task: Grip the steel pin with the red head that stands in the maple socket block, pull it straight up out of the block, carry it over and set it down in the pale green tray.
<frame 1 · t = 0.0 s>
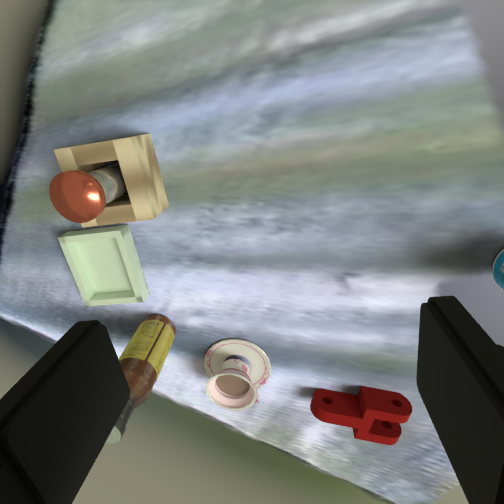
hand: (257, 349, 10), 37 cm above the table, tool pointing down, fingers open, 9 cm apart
sauce bottle: (161, 327, 57), on the table
tray: (110, 263, 52), on the table
socket block: (126, 176, 46), on the table
teacup: (237, 363, 59), on the table
mechanical linkage: (354, 398, 59), on the table
pin: (104, 185, 41), in the socket block
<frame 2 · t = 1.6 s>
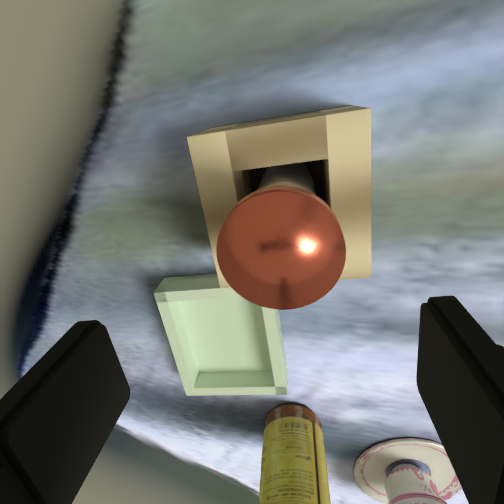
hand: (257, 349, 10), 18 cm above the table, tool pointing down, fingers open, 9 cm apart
sauce bottle: (294, 419, 36), on the table
tray: (229, 327, 32), on the table
socket block: (287, 186, 25), on the table
teacup: (406, 469, 38), on the table
pin: (284, 211, 20), in the socket block
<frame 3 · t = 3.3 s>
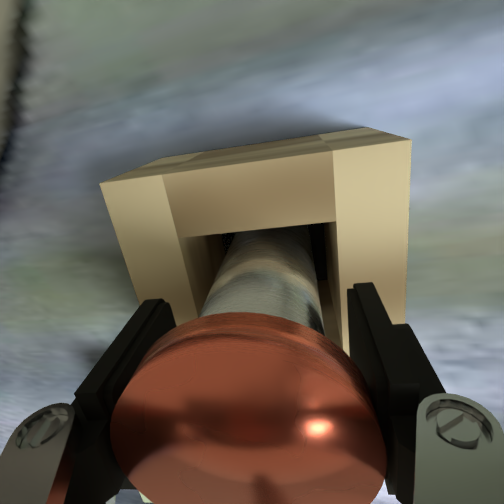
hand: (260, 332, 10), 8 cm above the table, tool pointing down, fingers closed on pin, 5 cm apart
socket block: (272, 239, 18), on the table
pin: (264, 300, 12), in the socket block, touching gripper
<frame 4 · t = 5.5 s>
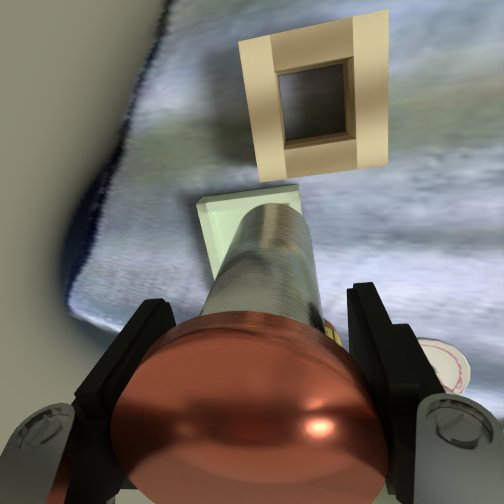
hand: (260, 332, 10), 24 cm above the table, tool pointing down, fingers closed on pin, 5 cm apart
tray: (258, 244, 36), on the table
socket block: (312, 104, 30), on the table
teacup: (415, 373, 41), on the table
pin: (265, 299, 12), point 22 cm above the table, touching gripper
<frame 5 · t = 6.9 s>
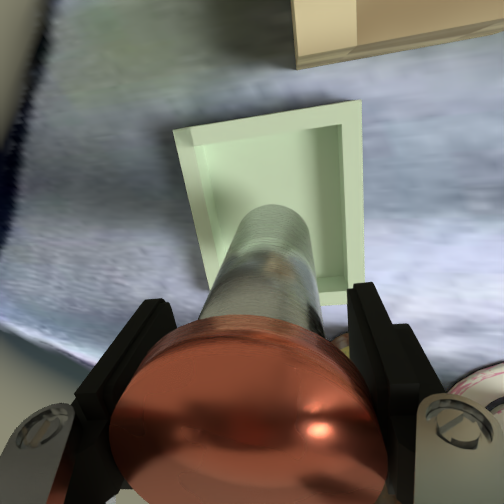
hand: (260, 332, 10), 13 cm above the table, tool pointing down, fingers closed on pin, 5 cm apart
sauce bottle: (359, 357, 26), on the table
tray: (278, 210, 22), on the table
pin: (264, 301, 12), point 11 cm above the table, touching gripper
when the fingers open (9 cm above the table, at t = 8.1 s): pin stays where it is, resting on tray.
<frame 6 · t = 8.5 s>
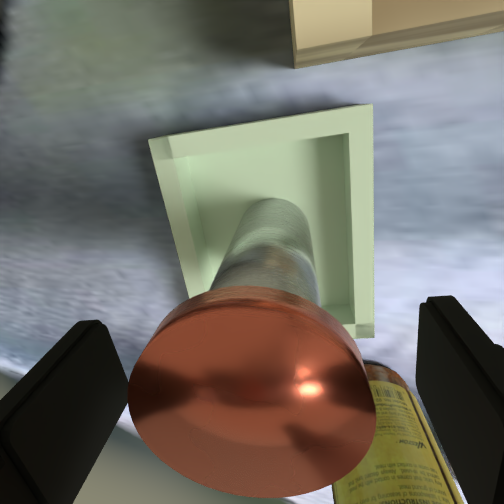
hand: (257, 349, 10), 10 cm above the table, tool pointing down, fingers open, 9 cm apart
sauce bottle: (365, 391, 24), on the table
tray: (273, 230, 19), on the table
pin: (266, 286, 13), in the tray, point 7 cm above the table
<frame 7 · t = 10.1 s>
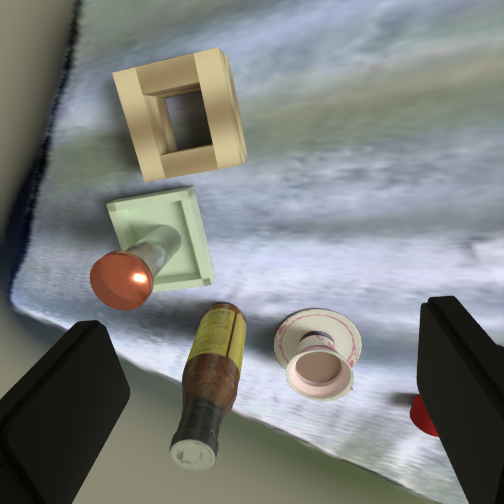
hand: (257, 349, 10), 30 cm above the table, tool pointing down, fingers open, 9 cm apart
sauce bottle: (226, 319, 46), on the table
tray: (167, 238, 42), on the table
socket block: (195, 120, 36), on the table
teacup: (316, 343, 46), on the table
mechanical linkage: (462, 404, 48), on the table
pin: (146, 258, 36), in the tray, point 7 cm above the table
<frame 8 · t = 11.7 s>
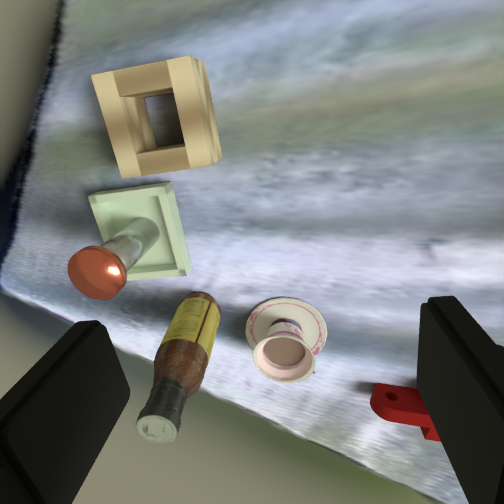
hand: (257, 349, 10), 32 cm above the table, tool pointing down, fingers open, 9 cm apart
sauce bottle: (203, 308, 49), on the table
tray: (147, 230, 44), on the table
socket block: (172, 119, 38), on the table
teacup: (285, 329, 49), on the table
mechanical linkage: (420, 393, 51), on the table
pin: (123, 250, 38), in the tray, point 7 cm above the table
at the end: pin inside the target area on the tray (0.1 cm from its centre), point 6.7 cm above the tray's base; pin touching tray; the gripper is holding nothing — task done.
